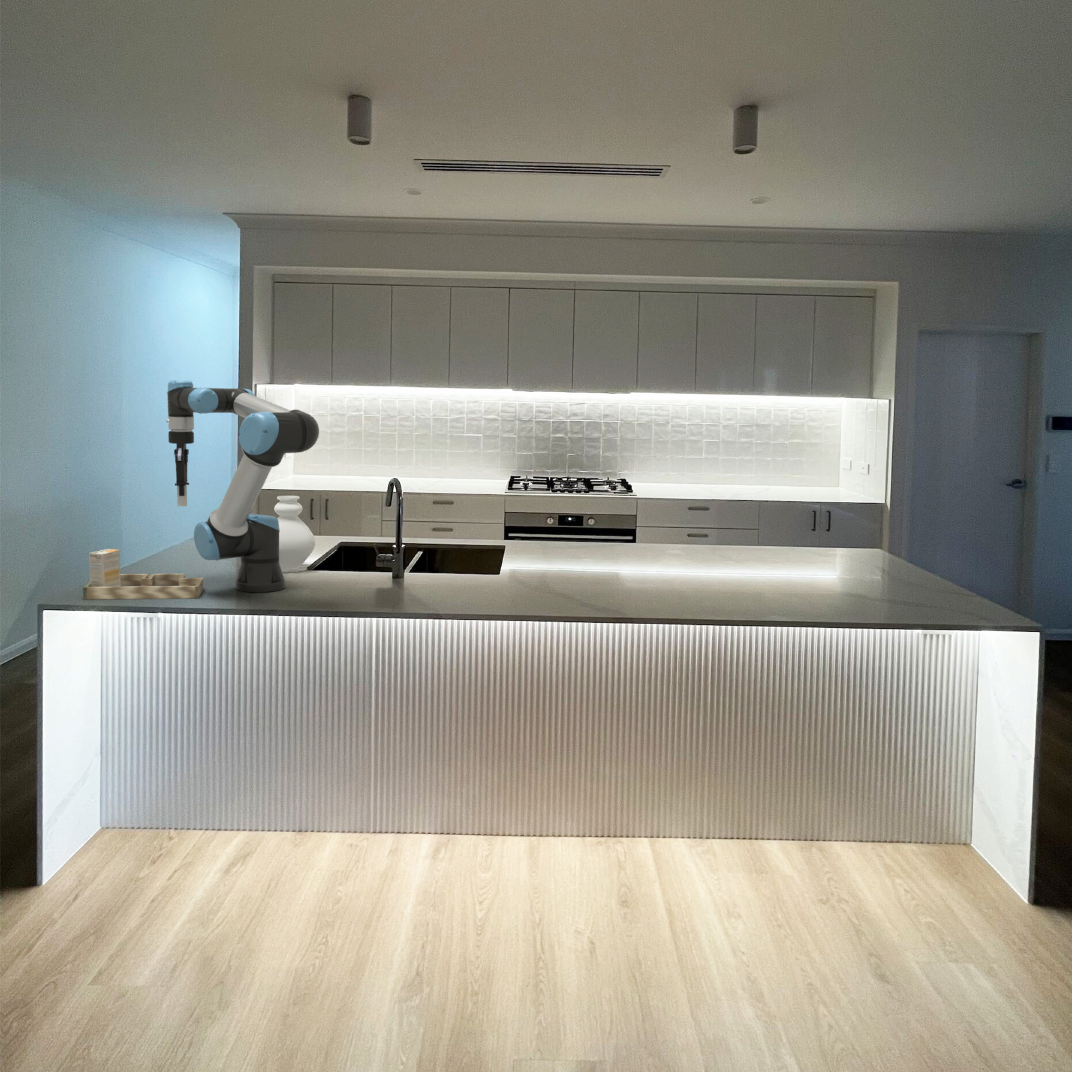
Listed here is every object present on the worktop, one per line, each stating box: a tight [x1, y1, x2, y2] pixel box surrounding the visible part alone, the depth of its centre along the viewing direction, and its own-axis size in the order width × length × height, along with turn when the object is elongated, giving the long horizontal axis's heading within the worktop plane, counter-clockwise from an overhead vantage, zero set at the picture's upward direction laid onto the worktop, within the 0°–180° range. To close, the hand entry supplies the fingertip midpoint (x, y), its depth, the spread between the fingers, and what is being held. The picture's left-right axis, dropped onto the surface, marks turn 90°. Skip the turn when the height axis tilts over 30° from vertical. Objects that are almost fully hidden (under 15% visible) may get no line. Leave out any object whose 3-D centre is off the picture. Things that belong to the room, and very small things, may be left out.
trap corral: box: [82, 573, 204, 600], centre depth 325 cm, size 32×21×4 cm, turn 102°
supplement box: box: [88, 548, 121, 587], centre depth 319 cm, size 8×5×13 cm, turn 164°
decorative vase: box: [273, 495, 316, 573], centre depth 368 cm, size 18×18×25 cm
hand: (182, 505), depth 338 cm, fingers closed
